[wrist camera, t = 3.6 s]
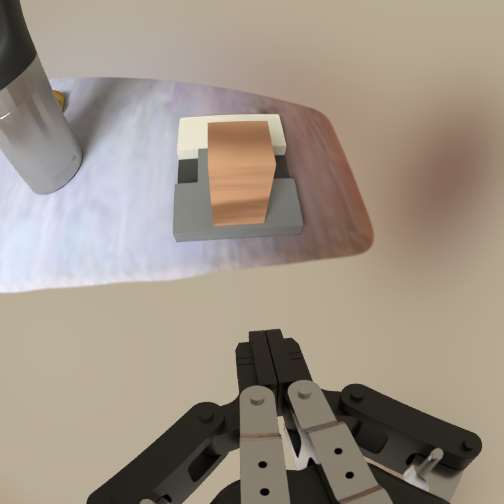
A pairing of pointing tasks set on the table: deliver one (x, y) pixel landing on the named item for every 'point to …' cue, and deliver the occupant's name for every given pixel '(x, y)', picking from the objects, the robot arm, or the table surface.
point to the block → (240, 171)
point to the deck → (200, 211)
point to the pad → (196, 128)
